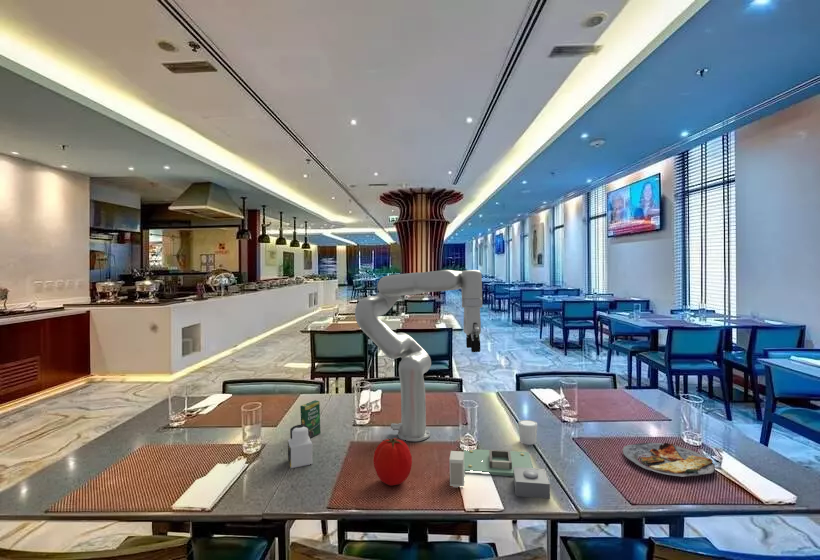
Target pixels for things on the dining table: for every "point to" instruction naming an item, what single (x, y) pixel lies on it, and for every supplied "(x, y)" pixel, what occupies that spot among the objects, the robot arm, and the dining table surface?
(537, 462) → the dining table surface
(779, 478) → the dining table surface
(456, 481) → the plug
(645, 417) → the dining table surface
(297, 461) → the medicine bottle
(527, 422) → the gray cup
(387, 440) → the tomato
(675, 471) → the food plate
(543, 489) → the grey push button box
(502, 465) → the socket
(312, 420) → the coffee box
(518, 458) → the board
